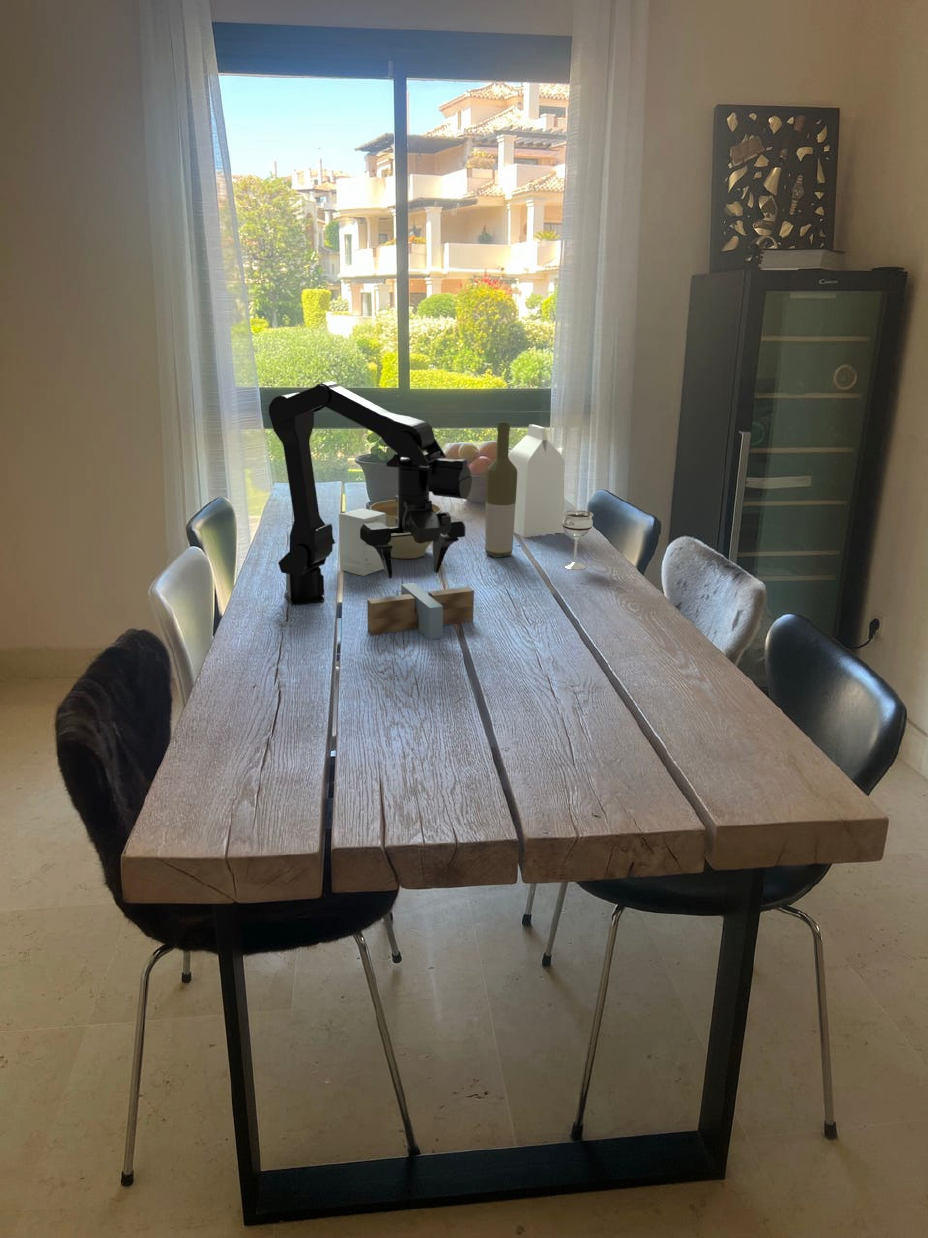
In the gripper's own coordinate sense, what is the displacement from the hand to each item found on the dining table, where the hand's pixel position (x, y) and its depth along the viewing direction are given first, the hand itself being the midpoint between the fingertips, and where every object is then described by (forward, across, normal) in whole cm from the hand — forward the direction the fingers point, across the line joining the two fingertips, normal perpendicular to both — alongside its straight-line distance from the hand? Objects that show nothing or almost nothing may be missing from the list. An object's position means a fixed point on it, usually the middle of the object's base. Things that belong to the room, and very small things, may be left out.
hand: (413, 575), depth 175 cm
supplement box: (+9, +1, +32) cm, 33 cm away
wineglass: (+9, +46, +18) cm, 50 cm away
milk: (+9, +52, +48) cm, 72 cm away
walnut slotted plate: (+8, 0, -4) cm, 9 cm away
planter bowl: (+9, +14, +40) cm, 43 cm away
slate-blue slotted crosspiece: (+8, 0, -4) cm, 10 cm away
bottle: (+9, +34, +32) cm, 47 cm away
